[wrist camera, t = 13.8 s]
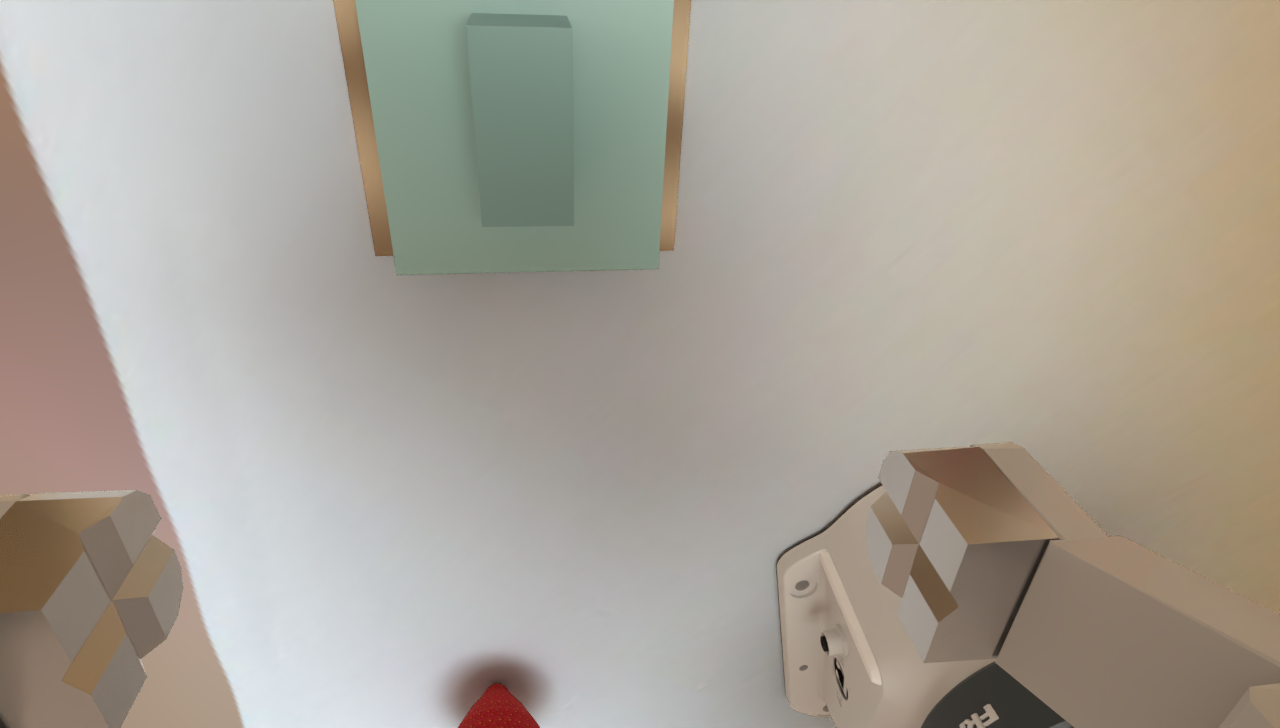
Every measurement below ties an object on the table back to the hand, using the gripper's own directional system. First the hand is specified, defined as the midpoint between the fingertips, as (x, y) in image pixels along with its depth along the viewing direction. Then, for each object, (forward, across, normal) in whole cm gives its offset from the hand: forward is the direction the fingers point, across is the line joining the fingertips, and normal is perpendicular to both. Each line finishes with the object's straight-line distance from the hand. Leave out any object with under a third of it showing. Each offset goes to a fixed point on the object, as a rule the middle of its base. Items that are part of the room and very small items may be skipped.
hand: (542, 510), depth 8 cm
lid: (+20, 0, 0) cm, 21 cm away
